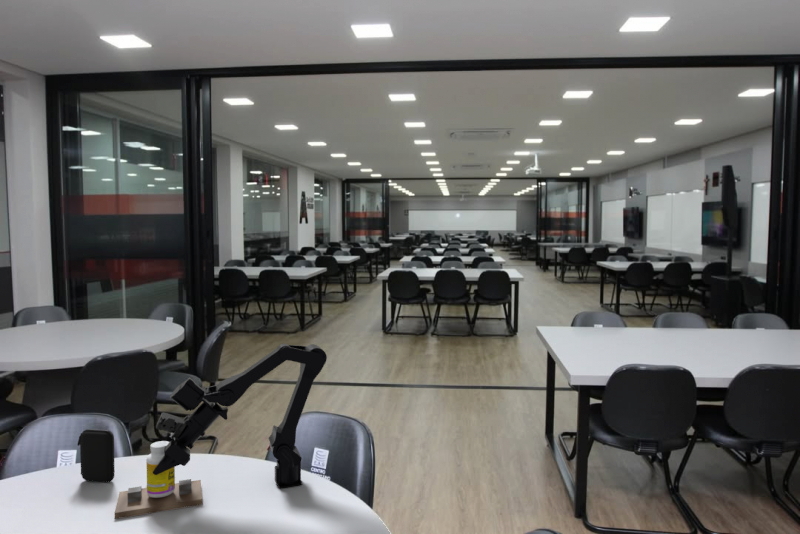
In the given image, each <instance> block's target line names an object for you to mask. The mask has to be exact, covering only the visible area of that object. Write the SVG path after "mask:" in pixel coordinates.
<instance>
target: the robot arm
mask: <svg viewBox="0 0 800 534" xmlns="http://www.w3.org/2000/svg"><path fill="white" fill-rule="evenodd" d="M327 359H328V356H327V354H326V352H325V351H324V349H323V348H321V347H320V346H319V345H317V344H314V343H313V344H309V345H307V346H305V345H298V344H297V345H295V344H287V343H281V344H279V345H278V346H277V347H276V348H275V349H273V350H272V351H270V352H269V353H268V354H267V355H265V356H263V357H262V358H261V359H259V360H258V361H256V362H255V363H253V364H252V365H251V366H249V367H248V368H247V369H246V368H245V370H243V371H242V372H240V373H237V374H234V375H231V376H230V377H227V378H225V379H223V380H221V381H219V382H218V383H217V384H216V385H212V386H207V387H204V388H202V387H201V386H200V385H199V384H198V383H196V382H195V380H194V379H192V378H191V377H188V378H187V379H186V380H185V381H182V382H181V384H179V385H177V386H176V388H174V390H173V391H172V393H171V394H170V396H169V399H171V400H172V402H175V403H176V404H177V405H179V406H180V407H181V408H182V409H183V410H185V411H186V412H187V411H193V412H192V413H191V414H190V415H189V414H188V415H186V416H185V417H179V416H177V415H174V414H171V413H168V412H161V414H160V416H159V419H158V420H157V422H156V425H155V429H157V430H158V431H165V432H167V433H166V441H168V442H169V444H168V445H167V446H165V448H164V454H165V455H164V456H163V458H162V459H161V461H160V462H159V463H158V465H157V466H156V468H155V469H154V471H153V474H154V475H157V474H160V473H162V472H164V471H166V470H168V469H171V468H173V467H177V466H184V467H185V466H186V465H187V464H188V463H189V462H190V461H191V450H192V449H193V448H194V444H195V443H196V442H197V441H198V439H200V437H202V438H203V437H204V436H205V435H206V431H207V430H208V429H209V428H210V427H211V426H212V424H214V422H216V420H217V419H219V417H220V418H222V419H223V420H224V421H227V420H228V412H229V409H228V407H231V406H233V405H234V404H236V402H237V401H238V400H240V398H241V397H243V396H244V394H245V393H246V392H247V391H248V389H250V387H251V386H252V385H254V384H255V383H257V382H258V381H259V380H261V379H262V378H263V377H265V376H266V375H267V374H269V373H271V372H273V370H275V369H276V368H278V367H279V366H280V365H282V364H283V363H285V362H286V361H290V362H293V363H298V364H299V365H300V367H299V375H298V378H297V380H296V384H295V386H294V388H293V392H292V394H291V397H290V400H289V402H288V406H287V408H286V410H285V412H284V413H285V414H284V416H283V418H282V420H281V421H282V422H281V423H280V424H279V425H278V426H277V425H273V426H272V431H271V433H270V436H268V441H269V447H270V450H271V452H272V456H273V457H274V458H275V459H276V465H275V466H274V482H275V484H276V485H277V487H278V489H283V488H290V487H297V486H302V485H303V481H302V477H301V476H302V472H301V471H302V470H301V469H302V459H303V458H302V455H301V454H300V451H299V450H298V448H297V446H296V438H297V436H296V435H297V427H298V425H299V422H300V419H301V418H302V417H301V416H302V414H303V411H304V408H305V405H306V403H307V399H308V397H309V394H310V391H311V390H312V387H313V386H312V385H313V383H314V381H315V379H316V378H317V377H318V376H319V375H320V373H321V372H322V370H323V368H324V366H325V364H326V362H327Z"/></svg>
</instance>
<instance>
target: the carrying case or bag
mask: <svg viewBox="0 0 800 534" xmlns="http://www.w3.org/2000/svg"><path fill="white" fill-rule="evenodd" d="M114 437H115V435H114V433H113V431H111V430H109V429H108V430H107V429H92V428H86V429H85V430H83V431H82V432H81V433H80V435H79V436H78V441H77V447H79V449H80V451H79V452H80V455H79V456H80V475H81V478H82V479H83V480H84V481H86V482H94V483H97V482H98V483H110V482H112V481H113V480H114V478H115V438H114Z"/></svg>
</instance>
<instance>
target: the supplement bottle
mask: <svg viewBox="0 0 800 534" xmlns="http://www.w3.org/2000/svg"><path fill="white" fill-rule="evenodd" d="M168 444H169V442H168V441H167V440H161V441H155V442H153V443H151V444H150V446H149V447H150V449H149V450H150V453H149V454H148V455H147V457H146V488H147V494H148V496H150V497H153V498H160V497H165V496H168V495H170V494H171V493H173V492H174V490H175V484H176V477H175V476H176V474H175V472H176V471H175V469H176V468H175V467H176V466H175V467H173V468H171V469H168V470H166V471H164V472H162V473H160V474H157V475H154V474H153V471H154V469H155V468H156V466H157V465H158V463H159V462H160V461H161V459H162V458H163V456H164V455H165V454H164V448H165V446H167V445H168Z"/></svg>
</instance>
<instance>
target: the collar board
mask: <svg viewBox="0 0 800 534" xmlns="http://www.w3.org/2000/svg"><path fill="white" fill-rule="evenodd" d="M202 492H203V490H202V481H201V479H197V480H192V478H191V479H182V480H179V481H178V482H177V483H176V482H175V490H174V492H173V493H171V494H170V495H168V496H165V497H160V498H153V497H150V496H148V494H147V487H144V488H142V485H141V486H140V485H139V486H134V487H128V488H127V490H124V491H123V490H122V491H119V492H118V498H117V502H116V505H115V509H114V520H116V519H122V518H124V519H125V518H130V517H136V516H141V515H147V514H148V515H149V514H154V513H155V514H156V513H161V512H166V511H171V510H179V509H186V508H190V507H197V506H202V505H203V493H202Z"/></svg>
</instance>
